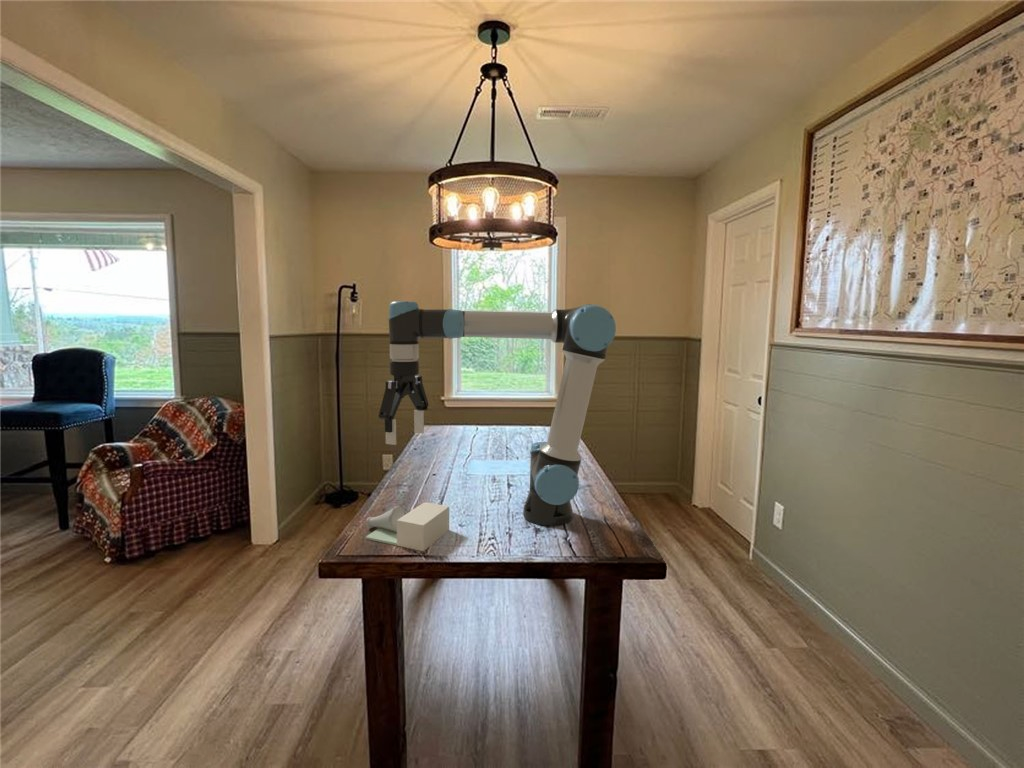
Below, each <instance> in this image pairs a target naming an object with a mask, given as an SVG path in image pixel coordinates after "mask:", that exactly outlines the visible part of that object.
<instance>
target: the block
mask: <svg viewBox="0 0 1024 768" xmlns="http://www.w3.org/2000/svg"><path fill="white" fill-rule="evenodd" d="M449 531H450V506H449V505H444V504H437V503H433V502H426V501H425V502H423V503H421V504H419V505H418V506H417V507H415V508H414V509H412V510H409V512H407V513H406V514H405V515H404V516H402V517H401V518H399V519H398V520H397V545H396V546H398V547H402V548H406V549H410V550H416V551H420V552H424V551H425V550H427V549H428V548H429V547H430V546H432V545H433V544H434V543H435V542H437V541H438V540H439V539H440V538H441V537H442V536H444V535H445V534H446V533H448V532H449Z"/></svg>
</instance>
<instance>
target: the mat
mask: <svg viewBox="0 0 1024 768" xmlns="http://www.w3.org/2000/svg"><path fill="white" fill-rule="evenodd" d="M365 540H370V541H373V542H374V541H375V542H379V543H383V544H387V545H392V546H397V533H395V532H392V531H389V530H386V529H383V528H379V527H377V529H375V530H374V531H372V532H371V533H369V534H368V535H366V536H365Z"/></svg>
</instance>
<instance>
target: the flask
mask: <svg viewBox="0 0 1024 768" xmlns="http://www.w3.org/2000/svg"><path fill="white" fill-rule="evenodd" d="M404 515H406V514H405V510H404V509H403V508H402V507H401V506H400V505H399V504H398V505H397V506H394V507H393V508H391V509H389V510H387V511H386V512H384V513H382V514H380V515H377V516H368V517H367V518H366V521H365V525H366V527H367V528H368V529H369V530H370V529H372V528H383V529H386V530H389V531H392V532H395V533H397V520H398V519H399V518H401V517H402V516H404Z"/></svg>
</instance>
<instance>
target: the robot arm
mask: <svg viewBox="0 0 1024 768" xmlns="http://www.w3.org/2000/svg"><path fill="white" fill-rule="evenodd" d="M418 305H419V304H418V302H416V301H409V300H408V301H405V300H403V301H402V300H398V301H396V300H394V301H391V302H390V303H389V307H388V308H389V309H388V319H387V320H388V334H389V338H388V339H389V358H390V360H391V361H390V362H389V374H390V375H391V376H393V380H385V389H384V394H383V397H382V401H381V405H380V409H379V413H378V419H381V420H384V432H385V444H386V445H393V446H394V445H395V446H396V445H397V419H396V418H395V416H396V414H397V411H398V408H399V406H400V404H401V402H402V399H404V398H405V396H407V395H408V397H409V399H410V400H411V403H412V404H413V406H414V408H415V409H414V410H413V427H414V428H413V429H414V430H413V433H414V434H425V421H424V420H425V411H428V407H429V401H428V398H427V394H426V391H425V387H424V384H423V376H421V375H419V374H420V372H419V371H420V368H419V367H420V364H419V360H418V359H419V357H420V354H419V353H420V351H419V347H420V346H419V339H425V338H426V339H450V340H452V339H461V338H490V339H494V338H497V339H500V338H501V339H502V338H503V339H532V340H533V339H535V340H537V339H539V340H551V342H553V343H555V344H556V343H558V344H560V343H561V344H563V345H562V350H561V352H562V354H563V355H564V357H565V361H564V367H563V370H562V374H561V379H560V384H559V390H558V392H557V396H556V397H557V398H556V402H555V405H554V410H553V415H552V419H551V423H550V429H549V432H548V436H547V441H538V442H534V443H532V444H531V446H530V451H529V453H530V463H529V464H530V471H529V492H528V494H527V496H526V500H525V503H524V505H523V517H524V519H525V520H527V521H528V522H529V523H533V524H535V525H541V526H548V527H549V526H551V527H552V526H561V525H565V524H568V523H570V522H571V521H572V520H573V514H574V513H573V506H572V503H571V501H572V500H573V499H574V498H575V497H576V495H577V493H578V492H579V487H580V480H579V479H580V478H579V475H578V474H579V471H580V467H581V462H582V455H580V452H579V446H580V442H581V436H582V433H583V428H584V426H585V425H584V424H585V421H586V420H585V419H586V416H587V411H588V407H589V404H590V400H591V396H592V392H593V387H594V381H595V379H596V374H597V369H598V366H599V365H600V364H601V363H603V362H605V360H606V357H607V353H608V348H609V346H610V345H611V343H612V342H613V340H614V339H615V336H616V331H617V327H616V321H615V319H614V316H613V315H612V313H611V312H610V311H609V310H607V308H604V307H603V306H600V305H597V304H592V303H591V304H590V303H589V304H585V305H581V306H577V307H573V308H567V309H553V310H552V312H528V311H527V312H523V311H519V312H518V311H481V310H480V311H478V310H461V309H452V308H449V309H444V308H443V309H441V308H439V309H438V308H437V309H424V308H423V309H422V308H419V306H418ZM394 418H395V419H394Z"/></svg>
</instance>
